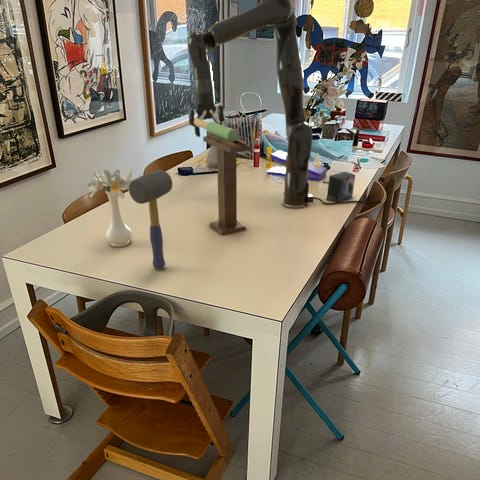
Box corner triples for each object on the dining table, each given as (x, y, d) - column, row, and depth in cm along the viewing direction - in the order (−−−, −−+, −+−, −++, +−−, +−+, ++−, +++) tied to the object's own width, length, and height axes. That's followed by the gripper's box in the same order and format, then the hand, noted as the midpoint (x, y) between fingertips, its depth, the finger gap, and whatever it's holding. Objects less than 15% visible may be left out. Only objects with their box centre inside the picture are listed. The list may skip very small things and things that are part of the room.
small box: (337, 203, 204) (340, 178, 198) (325, 199, 208) (328, 175, 202) (353, 198, 209) (356, 174, 204) (341, 194, 213) (344, 171, 208)
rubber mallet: (156, 279, 146) (145, 181, 129) (137, 273, 149) (124, 177, 133) (180, 263, 155) (173, 170, 138) (162, 258, 158) (153, 166, 142)
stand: (204, 222, 186) (200, 134, 168) (226, 217, 190) (225, 131, 172) (228, 239, 171) (227, 145, 153) (252, 234, 175) (254, 142, 158)
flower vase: (148, 235, 175) (140, 165, 161) (123, 255, 160) (112, 180, 146) (116, 230, 178) (106, 162, 164) (89, 250, 163) (75, 177, 150)
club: (192, 128, 179) (191, 116, 177) (201, 127, 181) (201, 115, 179) (227, 142, 159) (227, 130, 157) (238, 141, 161) (238, 129, 158)
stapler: (275, 168, 249) (276, 149, 244) (327, 175, 238) (329, 155, 233) (266, 174, 240) (266, 154, 235) (319, 181, 230) (321, 160, 224)
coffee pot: (202, 167, 251) (201, 137, 242) (211, 162, 260) (210, 133, 251) (240, 171, 244) (240, 141, 236) (248, 166, 253) (248, 136, 245)
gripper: (191, 93, 179) (195, 139, 188) (224, 89, 185) (228, 133, 193) (183, 92, 185) (188, 136, 194) (216, 88, 190) (219, 131, 199)
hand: (208, 135), depth 193 cm, fingers open, 8 cm apart
